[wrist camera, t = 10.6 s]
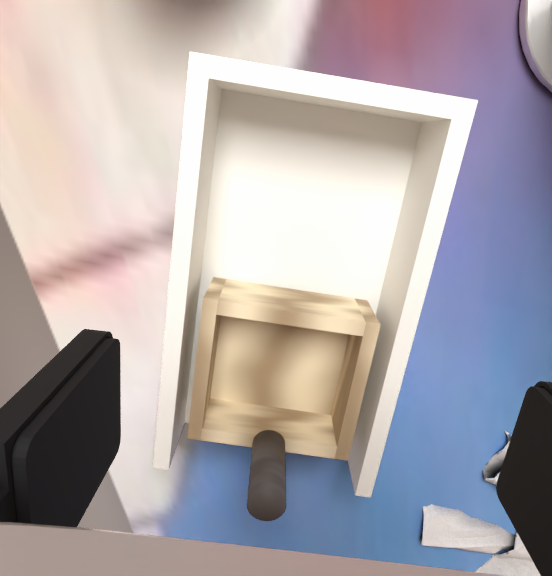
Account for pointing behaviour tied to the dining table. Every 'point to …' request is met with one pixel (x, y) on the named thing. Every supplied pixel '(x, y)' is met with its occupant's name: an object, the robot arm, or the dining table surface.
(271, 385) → the box
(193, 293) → the bay
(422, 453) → the dining table surface
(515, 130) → the dining table surface
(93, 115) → the dining table surface
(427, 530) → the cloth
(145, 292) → the dining table surface
